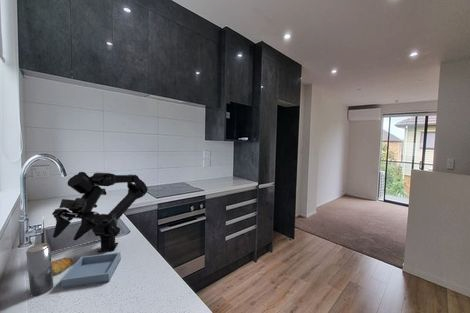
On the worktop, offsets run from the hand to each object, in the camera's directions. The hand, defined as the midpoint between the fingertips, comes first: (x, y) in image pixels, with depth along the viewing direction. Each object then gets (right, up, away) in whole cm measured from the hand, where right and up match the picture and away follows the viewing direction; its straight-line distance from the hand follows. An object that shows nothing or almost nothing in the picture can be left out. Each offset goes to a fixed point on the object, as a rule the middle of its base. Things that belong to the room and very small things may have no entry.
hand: (64, 238), depth 76 cm
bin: (+9, -13, +2) cm, 16 cm away
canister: (-2, -14, -7) cm, 16 cm away
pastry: (-6, -14, +4) cm, 15 cm away
